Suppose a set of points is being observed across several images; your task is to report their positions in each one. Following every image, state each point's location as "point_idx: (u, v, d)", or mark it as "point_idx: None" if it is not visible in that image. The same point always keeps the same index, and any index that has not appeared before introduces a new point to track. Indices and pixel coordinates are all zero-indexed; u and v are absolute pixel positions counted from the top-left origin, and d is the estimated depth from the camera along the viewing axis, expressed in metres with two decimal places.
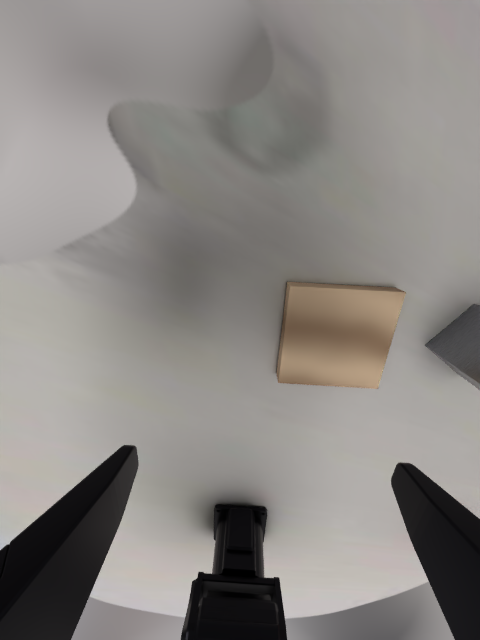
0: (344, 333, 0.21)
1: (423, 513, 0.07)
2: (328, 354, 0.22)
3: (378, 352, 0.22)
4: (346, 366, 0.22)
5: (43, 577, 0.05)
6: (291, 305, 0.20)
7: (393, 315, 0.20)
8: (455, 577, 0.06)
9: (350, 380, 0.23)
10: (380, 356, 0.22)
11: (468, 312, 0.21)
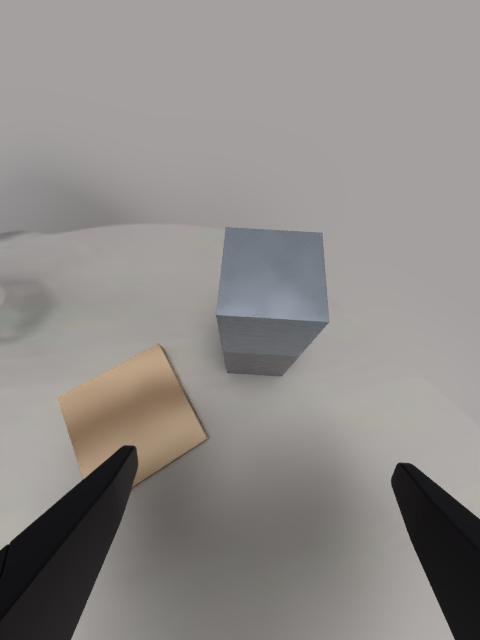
0: (132, 406, 0.21)
1: (423, 513, 0.07)
2: (130, 436, 0.20)
3: (176, 402, 0.21)
4: (156, 436, 0.20)
5: (43, 577, 0.05)
6: (66, 413, 0.20)
7: (163, 364, 0.22)
8: (455, 577, 0.06)
9: (172, 449, 0.19)
10: (181, 404, 0.21)
11: None
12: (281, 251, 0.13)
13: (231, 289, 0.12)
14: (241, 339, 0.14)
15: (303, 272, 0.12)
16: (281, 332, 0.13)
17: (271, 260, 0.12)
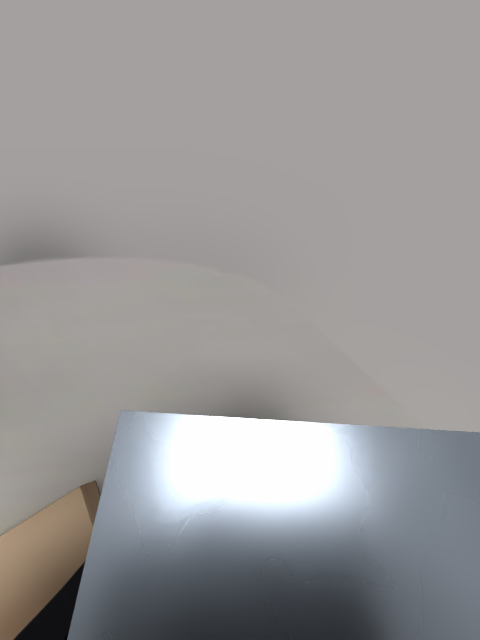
0: (13, 636, 0.11)
1: None
2: None
3: None
4: None
5: None
6: None
7: (83, 533, 0.12)
8: None
9: None
10: None
11: None
12: (348, 554, 0.03)
13: None
14: None
15: None
16: None
17: (305, 623, 0.03)
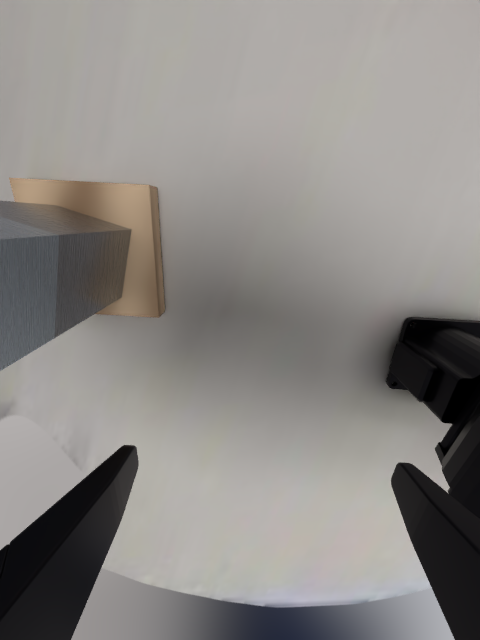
0: None
1: (423, 513, 0.07)
2: None
3: (94, 196, 0.16)
4: None
5: (42, 577, 0.05)
6: None
7: (40, 187, 0.16)
8: (455, 577, 0.06)
9: (141, 227, 0.17)
10: (99, 192, 0.16)
11: None
12: None
13: None
14: (1, 343, 0.09)
15: None
16: None
17: None
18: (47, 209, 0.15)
